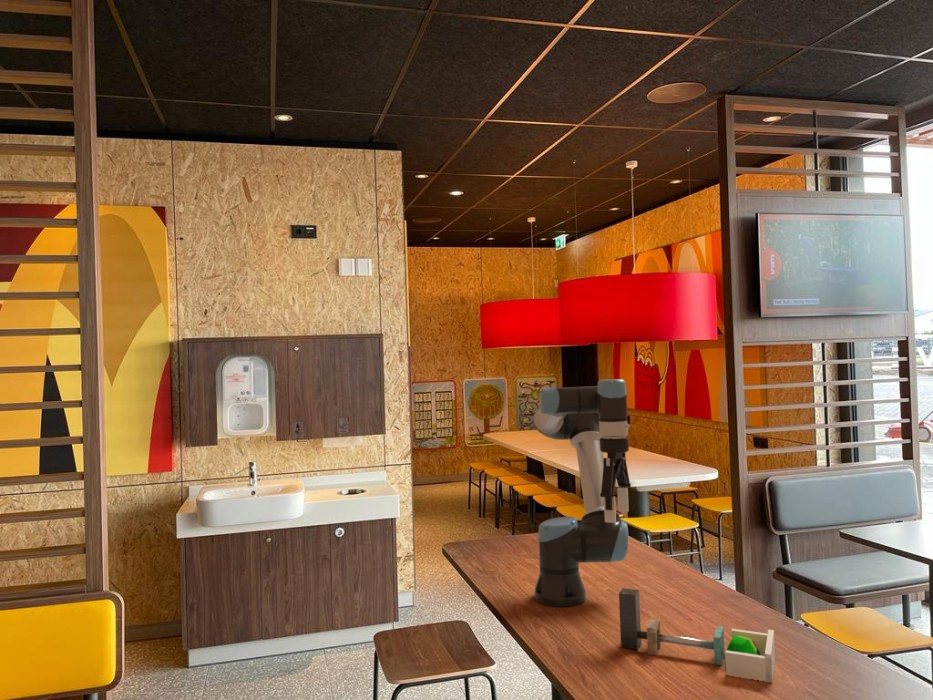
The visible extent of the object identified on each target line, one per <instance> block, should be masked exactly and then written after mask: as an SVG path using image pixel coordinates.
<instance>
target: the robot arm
mask: <svg viewBox="0 0 933 700" xmlns="http://www.w3.org/2000/svg"><path fill="white" fill-rule="evenodd" d="M627 394H628V390H627V385H626V381H625V380H624V379H622V378H620V379H619V378H617V379H616V378H615V379H614V378H613V379H611V378H610V379H609V378H608V379H599V380H598V381H597V385H594V386H593V385H591V386H568V387H566V386H564V387H559V386H558V387H554V386H551V387H545V388H544V387H543V388H541V389H540V391H539V395H538V396H539V397H538V398H539V399H538V400H539V408H537V410H536V411H535V413H534V415H533V424H534V427H535V429H536V431H537V432H538V433H540V434H541V435H543V436H544V437H546V438H549V439H551V440H552V439H553V440H557V441H558V440H559V441H561V440H562V441H564V440H565V441H566V440H568V441H570V445H571V447H572V448H574V449H575V450H576V457H577V463H578V464H577V465H578V472H579V478H580V479H579V480H580V484H581V485H580V486H581V491H582V497H583V499H582V500H583V504H584V505H583V506H584V507H583V508H584V512H585V513H584V514H583V515H582V516H581V522H580V521H579V522H578V520H577V518H576V517H574V516H558V517H553V518H548V519H547V520H545V521H542V522H541V523H540V524H539V527H538V534H537V535H538V537H537V541H538V550H539V551H538V554H539V556H538V558H539V559H538V560H539V561H538V562H539V574H538V578H537V580H536V585H535V589H534V599H535V600H536V602H537V603H539V604H542V605H545V606H549V607H556V608H557V607H558V608H559V607H562V608H563V607H573V606H578V605H580V604H583V603H584V602H585V601H586V599H587V597H586V594H587V593H586V589H585V586H584V582H583V580H582V577H581V574H580V569H579V564H581V563H586V564H587V563H612V562H613V563H614V562H622V561H623V560H625V558H626V557H627V553H628V548H629V527H628V522H627V521H626V520H624V519H623V520H621V517H620V513H621V512H622V513H623V512H624V513H625V512H626V513H629V511H630V510H629V489H628V488H631V486H632V484H631V483H630V481H631V480H630V477H629V471H628V465H627V458H626V453H627V452H629V451H630V445H629V444H630V443H629V437H627V436H628V435H629V428H630V427H631V426H630V424H629V423H628V400H627V399H628V397H627ZM604 453H606V454H607V457H605V455H604ZM616 483H617V485H618V487H617V489H616ZM615 489H616V490H617V491H616V492H617V511H616V496H615ZM618 512H620V513H618Z"/></svg>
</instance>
